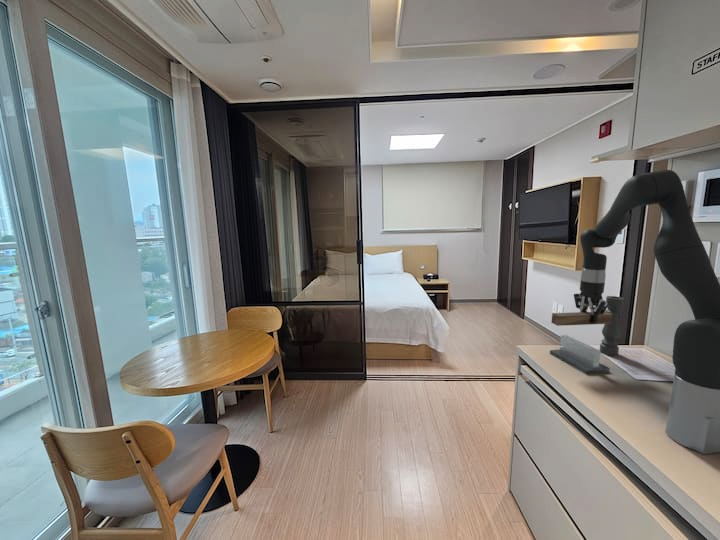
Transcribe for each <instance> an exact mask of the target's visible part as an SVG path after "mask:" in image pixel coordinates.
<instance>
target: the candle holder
mask: <svg viewBox="0 0 720 540" xmlns="http://www.w3.org/2000/svg"><path fill="white" fill-rule="evenodd" d="M605 298H606V299H605V301H609V305H608V307H607V309H606V310H605V312H608V313H611V314H612V321H611V324H603V327H602V329H601V333H602V336H603V339H602V340H601V343H599V350H600V354H602V353H603V355H605V356H609V357H617V356H619V351H620V350H619V348H620V347H619V343H618V341H617V340H618V339H619V338H620V337H621V330H620V329H621V328H620V324H619V319H620V315H622V311H621V309H622V308H623V307H624V303H625V302H624V301H625V298H624V297H621V296H615V295H614V296H613V295H607V296H606V297H605Z"/></svg>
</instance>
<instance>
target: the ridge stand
mask: <svg viewBox="0 0 720 540" xmlns="http://www.w3.org/2000/svg"><path fill="white" fill-rule="evenodd" d="M559 345H560V346H563V347H560V346H559V349H550V350H549V354H550V355H551V356H553V357H555V358H557V359H559V360H560V359H561V360H560V361H562V362H564V363H566V364H567V365H569V366H571V367H573V368H574V369H576V370H577V371H579V372H581V371H582V372H581V373H583V374H585V375H589V374H592V375H593V374H602V373H610V370H611V368H610V367H608V366H607V365H604V364H603V363H600V359H601V352H600V349H598V348H595V347H593V346H591V345H590V344H586V343H585V342H583V341H580V340H578V339H576V338H573V337H572V336H569V335H567V334H566V335H565V334H563V335H562V334H561V335H560V344H559Z"/></svg>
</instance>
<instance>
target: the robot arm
mask: <svg viewBox="0 0 720 540" xmlns="http://www.w3.org/2000/svg"><path fill="white" fill-rule="evenodd" d="M686 196H687V195H686V192H685V190H684V186H683V183H682V180H681V178H680V177H679V175H678V173H677V172H675V171H674V170H672V169H661V170H656V171H650V172H646V173H640V174H636V175H633V176H631V177H630V178H629V177H628V179H627V180H626V181H625V182H624V183H623V185H622V187H621V188H620V190H619V192H618V194H617V196H616V197H615V199H614V200H613V203H612V205H611V207H610V208H609V210H608V212H607V213H605V215H604V216H603V217H602V218H601V219H600V220H599V222H597V224H596V225H595V229H594V228H593V229H591V228H589V229H585V230H584V231H583V232H582V233H580V235H579V236H580V238H579V239H580V241H579V242H580V245H581V249H582V254H583V255H582V256H583V264H582V270H581V274H580V283H579V284H580V285H579V291H580V293H574V294H573V299H574V303H575V307H576V309H579V312H588V308H589V309H590V312H591V317H590V323H591V324H590V325H597V324H596V323H597V320H598V315H600V314H604V312H606V310H607V309H608V308H607V307H608V305H609V301H606V300H605V299H603V293H604V292H605V284H606V276H607V274H606V268H607V255H606V254H603V253H599V252H595V250H594V249H593V248H597V249H598V248H602V249H603V248H610V247H612V246H613V245H614V244H615V242H616V239H617V237H618V234H620V233H621V231H624V229H625V228H626V227H627V226H628V225H629V223H630V221H631V215H630V211H632V210H634V209H635V208H637V207H646V206H651V205H657V204H658V206H659V207H660V211H661V215H662V223H661V227H660V230H659V232H658V234H657V236H656V239H655V241H654V244H653V254H654V257H655V259H656V262H657V266H658V267H659V268H658V269H659V270H660V273H661V274H662V276H663V277H664V278H665V279H666V280H667V282H669V283H670V284H671V285H672V286H673V287H674V289H676V290H677V291H678V292H679V293H680V294H681V296H683V297H684V299H685V300H686V301H687V303H688V305H689V307H690V309H691V311H692V314H693V317H694V319H690V320H689V319H688V320H685V321H683V322H681V323H680V324H679V325H678V326H677V327H676V330H675V333H674V337H673V347H672V364H673V366H674V368H675V369H674V376H673V383H672V387H671V393H670V394H671V395H670V402H669V407H668V411H667V412H668V414H667V420H666V425H665V433H666V435H667V436H668V437H669V438H670V439H671V440H673V441H674V442H676V443H678V444H679V445H681V446H683V447H686V448H688V449H691V450H694V451H696V452H698V453H700V454H702V455H710V454H715V453H720V281H719V280H718V277H717V274H716V272H715V271H714V268H713V265H712V262H711V259H710V257H709V255H708V252H707V251H706V250H707V249H706V247H705V245H704V243H703V242H702V240H701V237H700V236H699V233H698V230H697V228H696V225H695V222H694V220H693V218H692V214H691V212H690V207H689V205H688V200H687V197H686Z"/></svg>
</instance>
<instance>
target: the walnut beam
mask: <svg viewBox="0 0 720 540" xmlns="http://www.w3.org/2000/svg"><path fill="white" fill-rule="evenodd" d="M590 317H591V311H587V312H580V311H577V312H576V311H575V312H556V313H555V312H554V313H553V312H552V313H551V324H553V325H555V326H557V327H559V326H560V327H561V326H583V325H585V326H587V325H589V326H590V325H592V324H591V323H590ZM611 321H612V314H611V313H608V312H606V311H605V312H604V314H600V315H598V320H597V323H596V324H595V325H605V324H611Z"/></svg>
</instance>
